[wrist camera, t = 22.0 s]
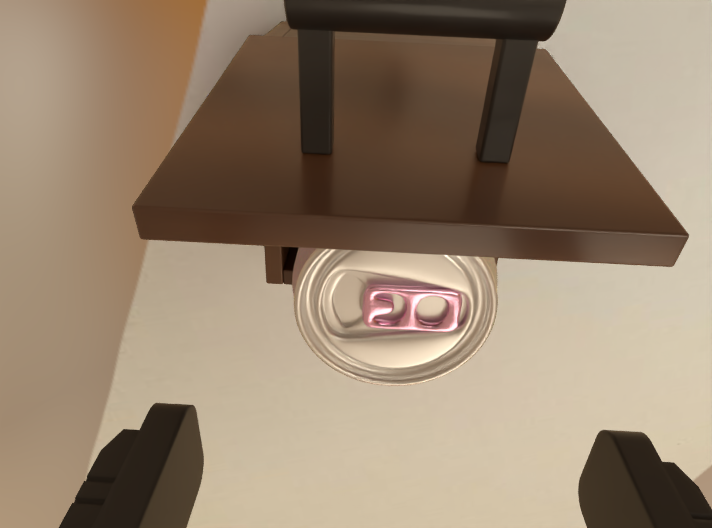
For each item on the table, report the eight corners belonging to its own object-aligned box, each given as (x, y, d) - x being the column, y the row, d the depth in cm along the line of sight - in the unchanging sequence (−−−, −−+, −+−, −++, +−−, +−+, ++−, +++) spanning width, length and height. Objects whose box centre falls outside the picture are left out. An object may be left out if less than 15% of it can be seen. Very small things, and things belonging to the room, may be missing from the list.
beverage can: (438, 195, 29) (485, 397, 16) (328, 189, 29) (289, 386, 16) (453, 82, 26) (526, 220, 13) (330, 76, 26) (283, 207, 13)
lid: (673, 268, 10) (830, -29, 7) (138, 240, 11) (56, -64, 7) (540, 71, 19) (583, -102, 16) (251, 57, 19) (235, -118, 16)
